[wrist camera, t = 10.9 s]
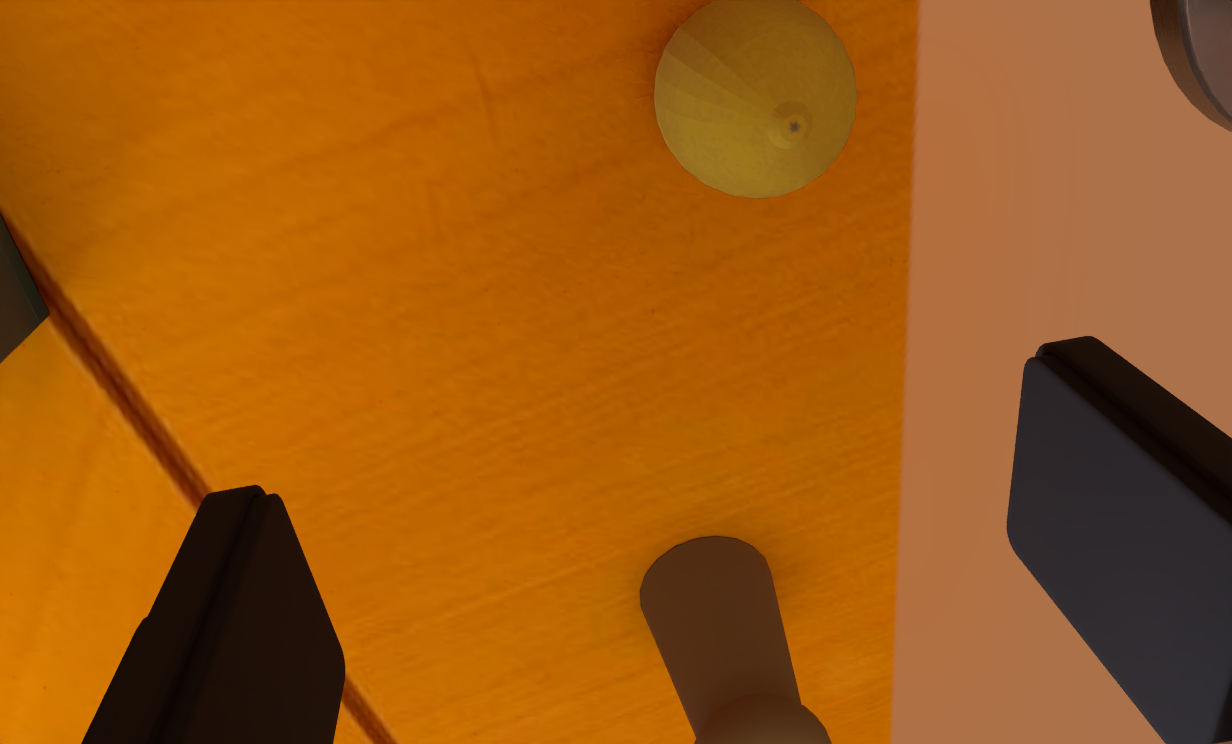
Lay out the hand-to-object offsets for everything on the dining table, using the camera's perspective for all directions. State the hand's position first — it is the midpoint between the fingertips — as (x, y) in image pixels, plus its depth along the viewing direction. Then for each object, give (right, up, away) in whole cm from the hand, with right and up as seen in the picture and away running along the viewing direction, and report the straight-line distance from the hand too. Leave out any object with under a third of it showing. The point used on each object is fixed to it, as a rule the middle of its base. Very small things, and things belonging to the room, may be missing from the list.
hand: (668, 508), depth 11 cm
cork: (+3, -8, +29) cm, 30 cm away
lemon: (+3, +12, +18) cm, 22 cm away
